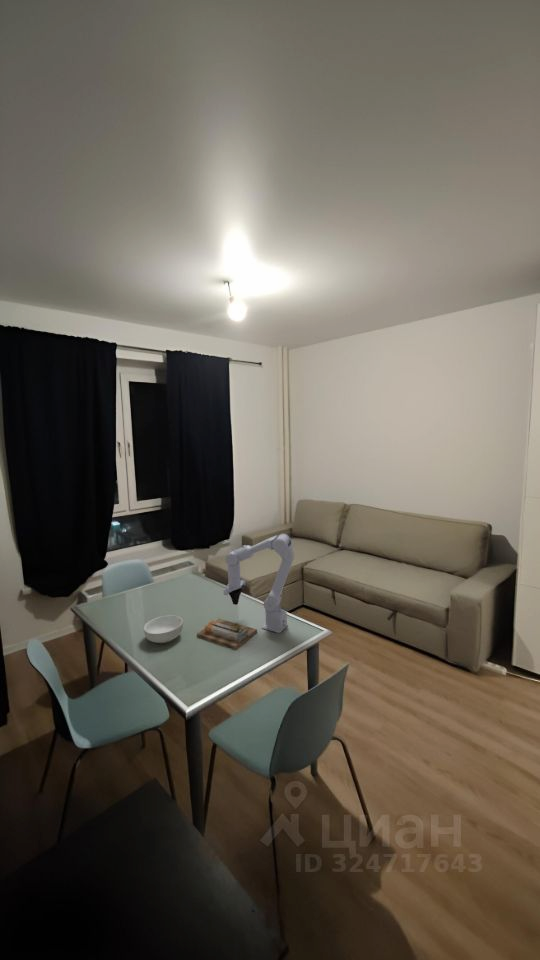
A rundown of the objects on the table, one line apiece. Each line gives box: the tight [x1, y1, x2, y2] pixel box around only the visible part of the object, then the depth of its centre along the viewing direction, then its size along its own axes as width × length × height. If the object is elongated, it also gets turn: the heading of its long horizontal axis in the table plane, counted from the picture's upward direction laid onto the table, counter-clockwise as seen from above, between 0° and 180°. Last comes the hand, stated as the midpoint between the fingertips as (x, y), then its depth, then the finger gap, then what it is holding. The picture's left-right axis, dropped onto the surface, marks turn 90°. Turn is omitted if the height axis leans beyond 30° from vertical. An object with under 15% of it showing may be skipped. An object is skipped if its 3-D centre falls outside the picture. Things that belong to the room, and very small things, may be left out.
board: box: [196, 618, 258, 651], centre depth 173 cm, size 22×16×2 cm
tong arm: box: [208, 620, 242, 634], centre depth 172 cm, size 18×3×3 cm, turn 58°
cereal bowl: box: [143, 614, 184, 644], centre depth 171 cm, size 17×17×7 cm
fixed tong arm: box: [204, 623, 248, 643], centre depth 170 cm, size 19×7×3 cm, turn 58°
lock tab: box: [231, 623, 242, 631], centre depth 169 cm, size 3×4×1 cm
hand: (235, 603), depth 183 cm, fingers closed
